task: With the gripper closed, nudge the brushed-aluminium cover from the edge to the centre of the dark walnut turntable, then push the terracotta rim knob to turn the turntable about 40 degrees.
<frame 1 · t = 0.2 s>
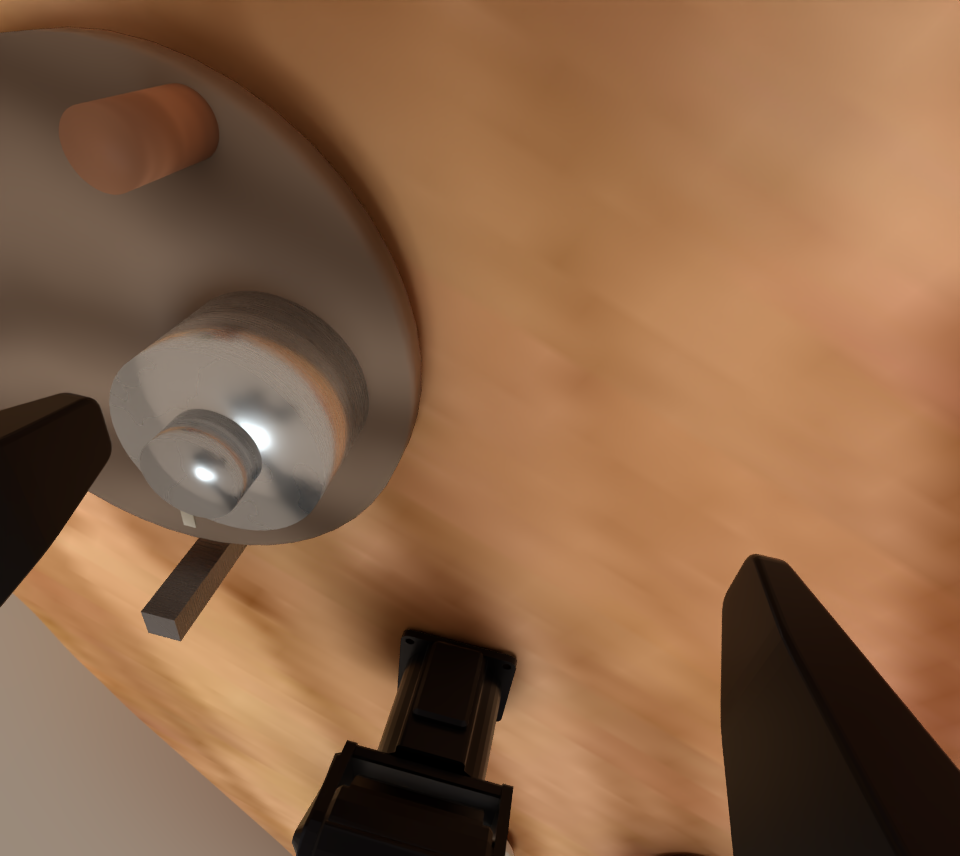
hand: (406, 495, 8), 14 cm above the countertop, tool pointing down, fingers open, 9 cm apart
turntable: (131, 366, 22), point 4 cm above the countertop, hinge at 0.0°, touching aluminium cover
aluminium cover: (276, 381, 22), point 3 cm above the countertop, touching turntable
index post: (231, 531, 32), on the countertop
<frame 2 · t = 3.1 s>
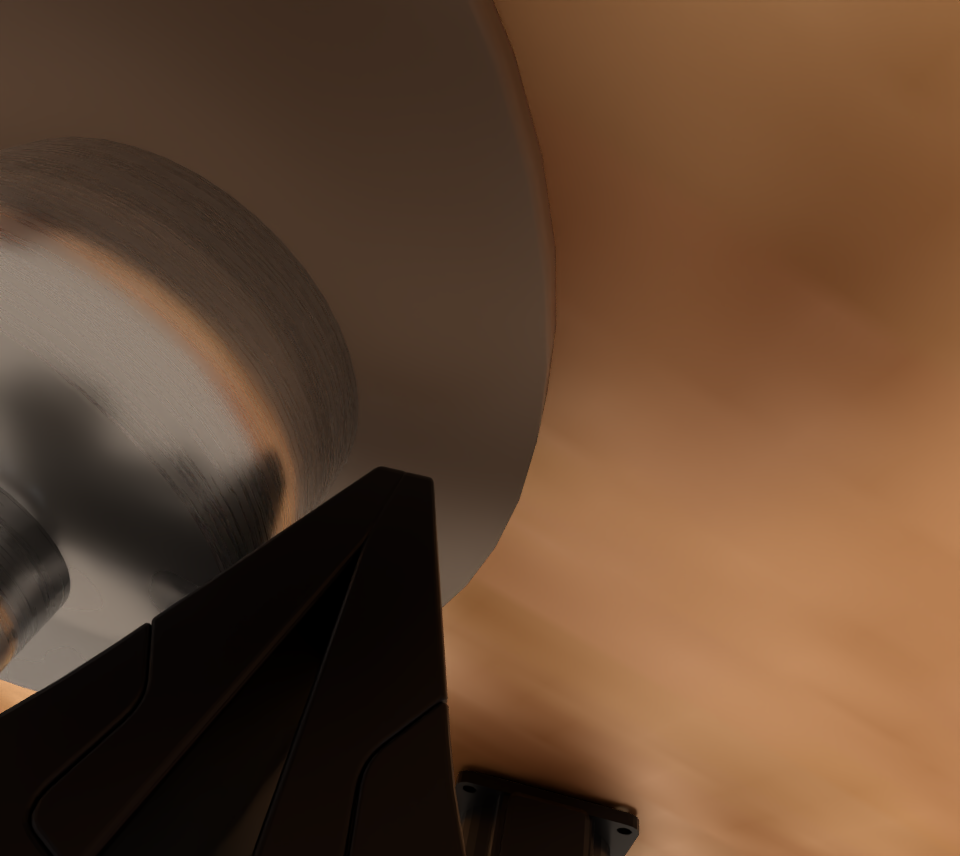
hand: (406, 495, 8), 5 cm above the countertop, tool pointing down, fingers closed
aluminium cover: (160, 363, 10), point 3 cm above the countertop, touching gripper
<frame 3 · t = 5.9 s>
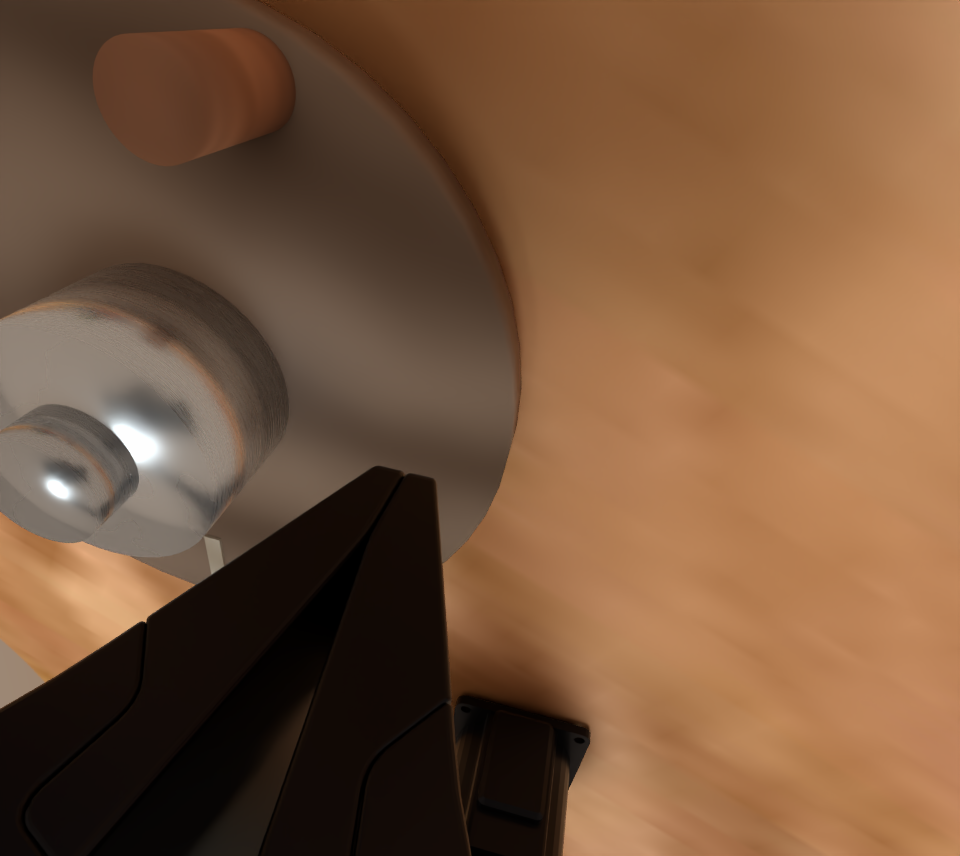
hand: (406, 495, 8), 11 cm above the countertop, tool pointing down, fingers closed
turntable: (163, 395, 17), point 4 cm above the countertop, hinge at 0.0°, touching aluminium cover
aluminium cover: (179, 376, 18), point 3 cm above the countertop, touching turntable
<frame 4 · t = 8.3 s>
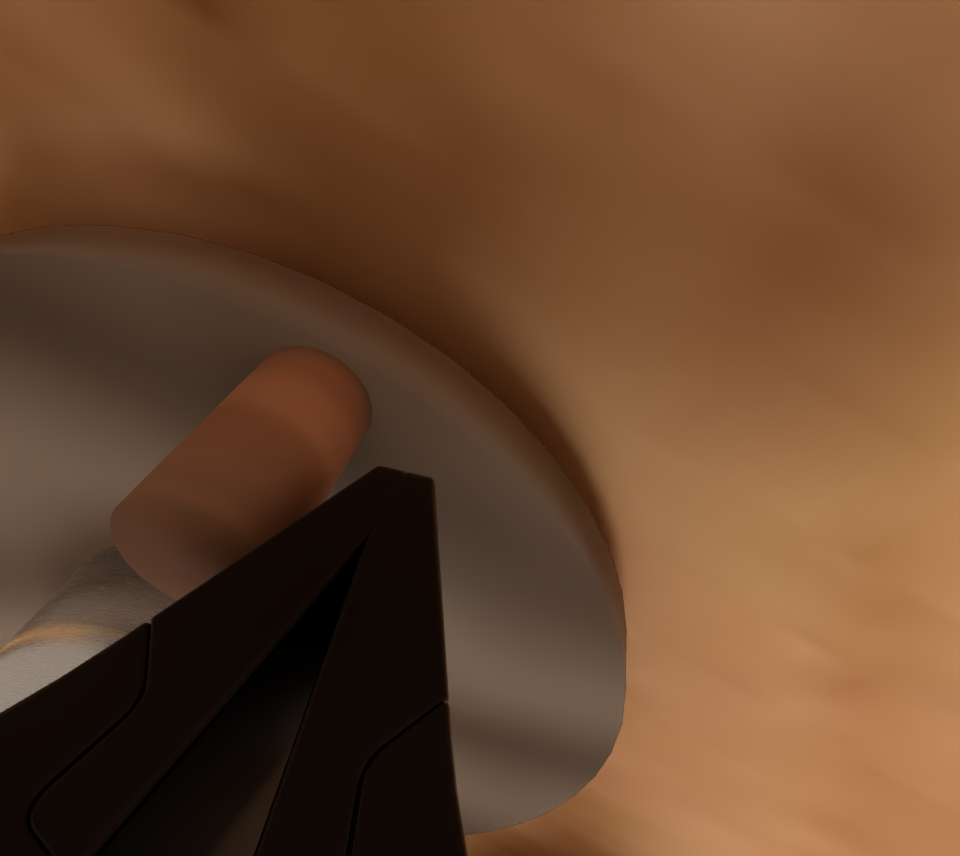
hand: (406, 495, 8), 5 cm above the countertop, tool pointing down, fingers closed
turntable: (191, 682, 14), point 4 cm above the countertop, hinge at 0.0°, touching aluminium cover, gripper
aluminium cover: (209, 644, 15), point 3 cm above the countertop, touching turntable
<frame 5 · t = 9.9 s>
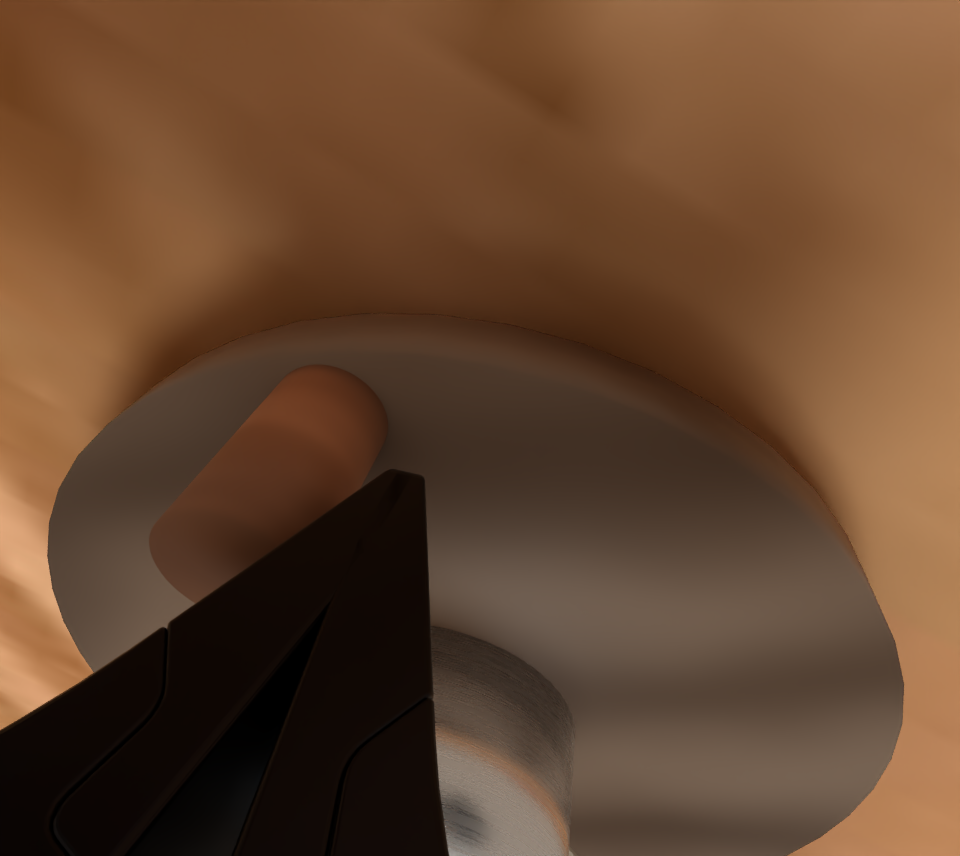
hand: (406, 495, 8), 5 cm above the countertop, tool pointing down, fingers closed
turntable: (428, 753, 14), point 4 cm above the countertop, hinge at 36.5°, touching aluminium cover, gripper
aluminium cover: (433, 714, 15), point 3 cm above the countertop, touching turntable
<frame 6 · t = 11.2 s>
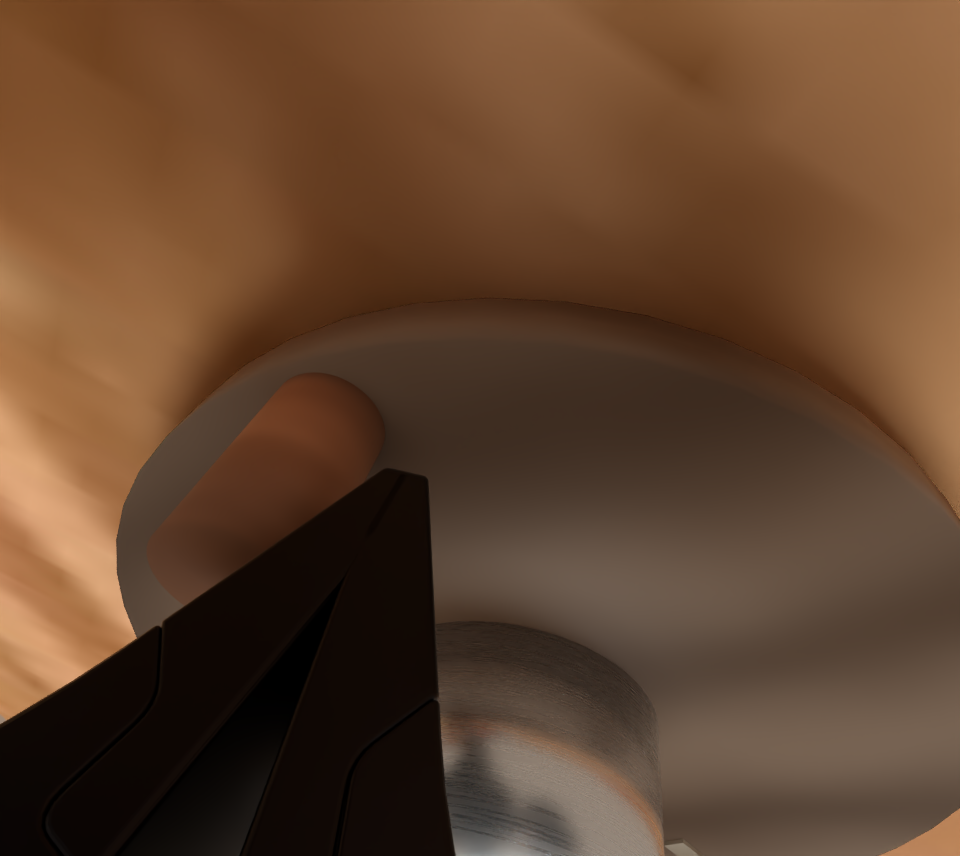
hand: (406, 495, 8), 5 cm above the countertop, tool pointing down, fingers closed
turntable: (506, 754, 14), point 4 cm above the countertop, hinge at 50.0°, touching aluminium cover, gripper
aluminium cover: (508, 713, 15), point 3 cm above the countertop, touching turntable
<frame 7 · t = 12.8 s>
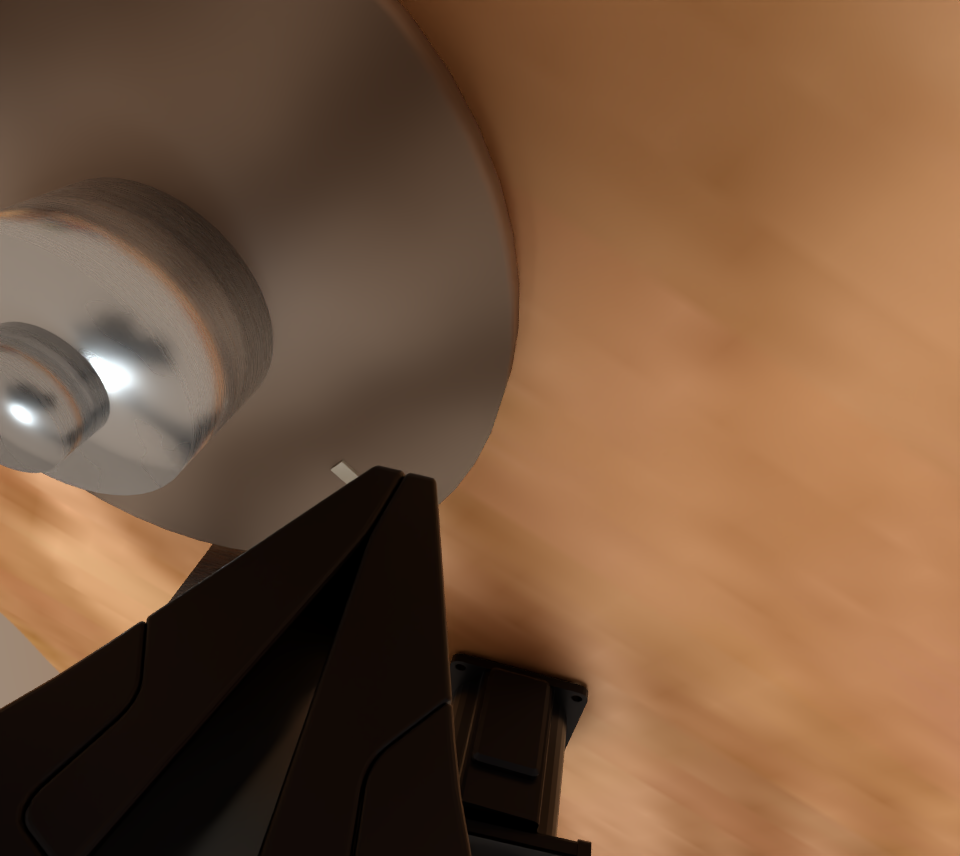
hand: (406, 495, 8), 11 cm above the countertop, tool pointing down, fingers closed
turntable: (135, 320, 16), point 4 cm above the countertop, hinge at 50.2°, touching aluminium cover
aluminium cover: (156, 307, 17), point 3 cm above the countertop, touching turntable
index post: (250, 536, 27), on the countertop
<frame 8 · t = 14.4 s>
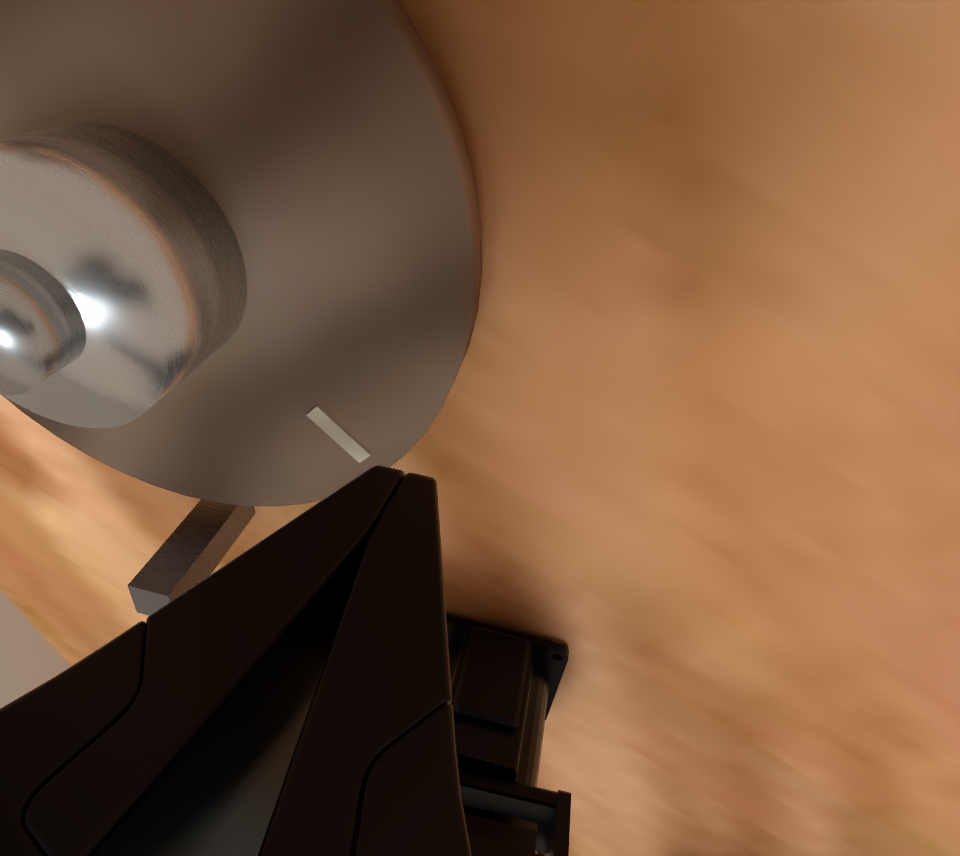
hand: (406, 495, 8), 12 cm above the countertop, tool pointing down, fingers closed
turntable: (114, 262, 17), point 4 cm above the countertop, hinge at 50.2°, touching aluminium cover
aluminium cover: (135, 253, 18), point 3 cm above the countertop, touching turntable
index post: (236, 497, 27), on the countertop
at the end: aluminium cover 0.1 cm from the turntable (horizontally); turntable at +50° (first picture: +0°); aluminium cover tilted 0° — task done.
